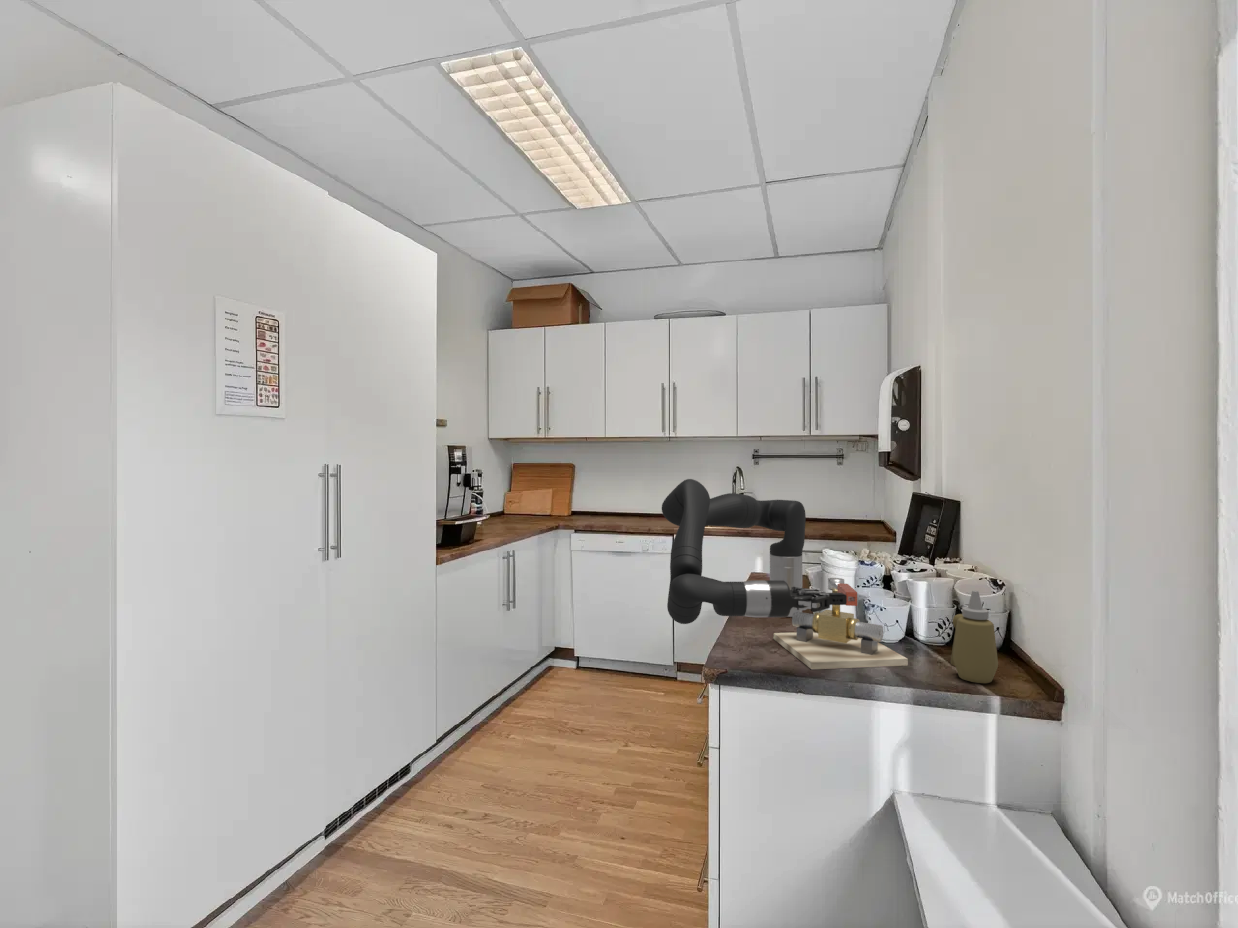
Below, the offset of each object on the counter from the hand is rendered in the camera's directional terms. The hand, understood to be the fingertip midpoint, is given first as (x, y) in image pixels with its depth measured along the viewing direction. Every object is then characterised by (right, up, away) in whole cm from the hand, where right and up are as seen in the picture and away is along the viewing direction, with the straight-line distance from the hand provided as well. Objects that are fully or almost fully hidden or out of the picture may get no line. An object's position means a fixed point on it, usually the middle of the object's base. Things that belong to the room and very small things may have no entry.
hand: (844, 598), depth 125 cm
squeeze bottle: (+26, -16, -3) cm, 31 cm away
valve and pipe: (+4, -14, +15) cm, 21 cm away
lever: (+2, -1, +8) cm, 8 cm away
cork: (+29, -16, +6) cm, 34 cm away
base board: (+4, -16, +15) cm, 22 cm away
